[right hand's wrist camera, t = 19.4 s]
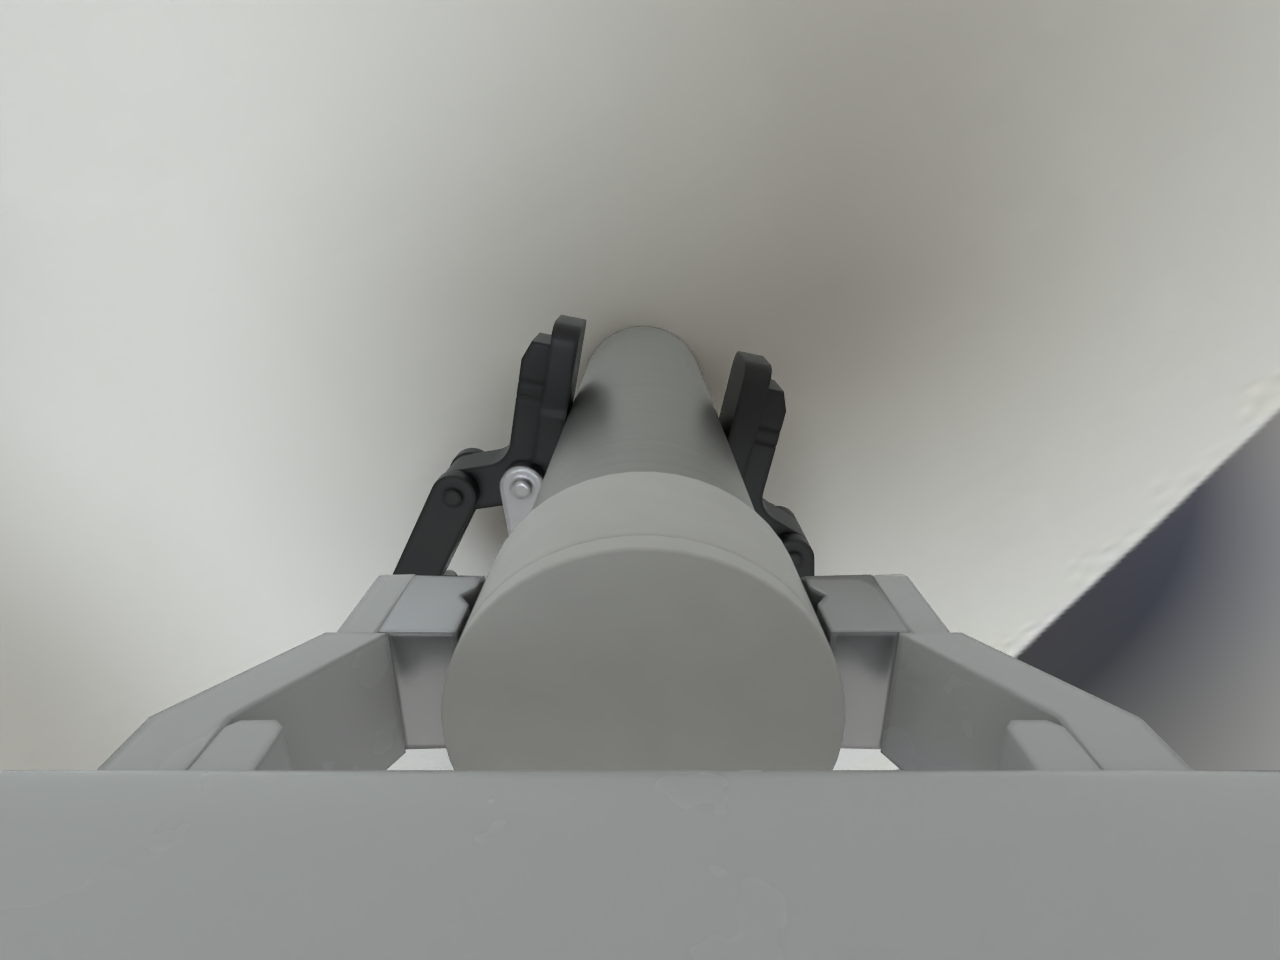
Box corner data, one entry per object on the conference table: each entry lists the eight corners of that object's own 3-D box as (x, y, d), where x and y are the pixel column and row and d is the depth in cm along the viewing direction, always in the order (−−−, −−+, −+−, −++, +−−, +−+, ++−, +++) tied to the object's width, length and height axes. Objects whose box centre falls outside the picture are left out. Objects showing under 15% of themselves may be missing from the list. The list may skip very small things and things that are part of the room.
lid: (481, 460, 9) (429, 535, 7) (823, 479, 10) (880, 559, 7) (488, 736, 11) (447, 869, 9) (779, 751, 11) (814, 886, 9)
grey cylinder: (717, 413, 26) (855, 762, 9) (613, 456, 26) (564, 855, 10) (674, 306, 24) (742, 485, 8) (565, 354, 25) (411, 615, 8)
